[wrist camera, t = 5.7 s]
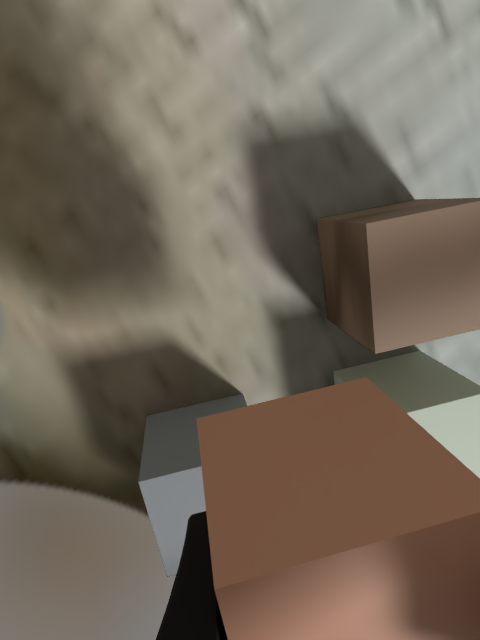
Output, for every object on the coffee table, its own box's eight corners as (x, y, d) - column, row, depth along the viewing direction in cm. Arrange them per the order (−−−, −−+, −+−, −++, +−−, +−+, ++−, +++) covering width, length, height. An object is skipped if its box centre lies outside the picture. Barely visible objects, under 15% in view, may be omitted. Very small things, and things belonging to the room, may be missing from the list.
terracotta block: (377, 512, 13) (497, 694, 8) (229, 554, 12) (264, 775, 7) (366, 377, 11) (508, 503, 6) (196, 418, 11) (213, 589, 6)
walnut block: (416, 297, 20) (491, 326, 15) (326, 318, 20) (375, 354, 15) (413, 199, 19) (495, 197, 14) (315, 218, 18) (366, 223, 13)
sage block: (421, 427, 23) (486, 485, 18) (341, 448, 22) (386, 514, 17) (418, 350, 21) (489, 391, 16) (332, 370, 21) (379, 419, 16)
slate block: (256, 470, 22) (280, 545, 17) (168, 493, 21) (167, 576, 16) (242, 392, 20) (263, 450, 15) (146, 415, 20) (138, 481, 15)
